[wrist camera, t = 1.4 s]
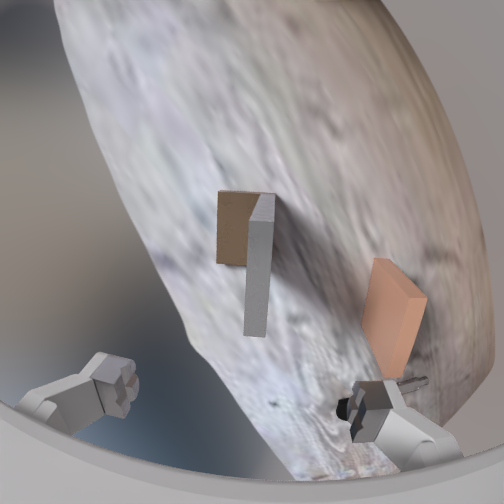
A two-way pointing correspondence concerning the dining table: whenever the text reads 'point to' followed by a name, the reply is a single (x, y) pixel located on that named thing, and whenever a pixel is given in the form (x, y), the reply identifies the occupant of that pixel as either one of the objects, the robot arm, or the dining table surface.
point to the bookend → (248, 248)
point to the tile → (392, 316)
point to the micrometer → (403, 387)
